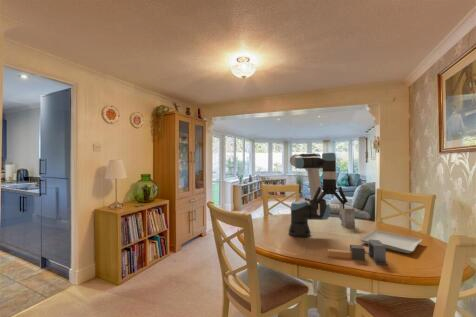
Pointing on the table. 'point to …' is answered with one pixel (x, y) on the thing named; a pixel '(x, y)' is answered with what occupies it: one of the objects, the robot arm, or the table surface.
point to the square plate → (393, 241)
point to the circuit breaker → (347, 217)
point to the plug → (349, 252)
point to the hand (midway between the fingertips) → (329, 214)
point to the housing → (377, 252)
